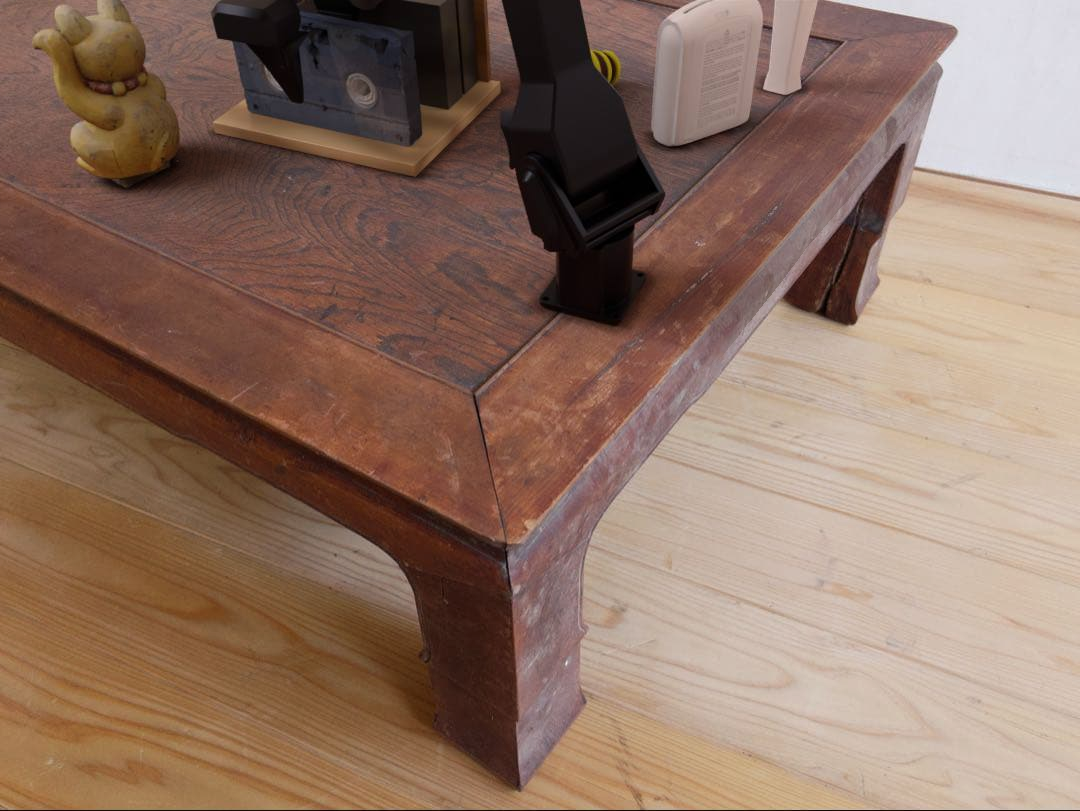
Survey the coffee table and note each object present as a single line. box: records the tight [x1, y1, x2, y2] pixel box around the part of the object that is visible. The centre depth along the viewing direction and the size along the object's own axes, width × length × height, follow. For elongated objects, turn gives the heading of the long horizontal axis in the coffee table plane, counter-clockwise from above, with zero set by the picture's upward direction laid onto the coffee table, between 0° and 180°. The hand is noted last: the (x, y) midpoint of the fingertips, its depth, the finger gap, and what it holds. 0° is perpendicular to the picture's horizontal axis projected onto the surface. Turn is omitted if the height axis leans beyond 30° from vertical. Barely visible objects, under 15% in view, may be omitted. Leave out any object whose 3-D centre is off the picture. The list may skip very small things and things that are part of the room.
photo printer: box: [650, 0, 764, 147], centre depth 89 cm, size 10×4×12 cm, turn 123°
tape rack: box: [212, 0, 502, 178], centre depth 93 cm, size 18×22×11 cm
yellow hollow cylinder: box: [516, 49, 622, 86], centre depth 99 cm, size 10×5×5 cm, turn 57°
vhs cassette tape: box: [231, 10, 422, 146], centre depth 89 cm, size 18×3×10 cm, turn 64°
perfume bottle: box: [762, 0, 819, 96], centre depth 95 cm, size 5×4×15 cm
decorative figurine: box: [31, 0, 181, 189], centre depth 85 cm, size 10×8×15 cm
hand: (322, 84), depth 90 cm, fingers open, 8 cm apart
